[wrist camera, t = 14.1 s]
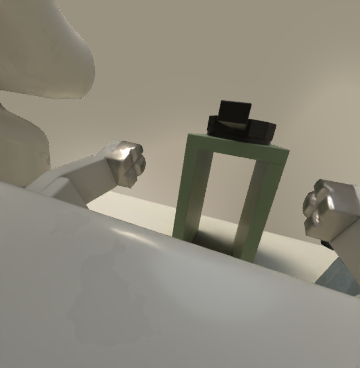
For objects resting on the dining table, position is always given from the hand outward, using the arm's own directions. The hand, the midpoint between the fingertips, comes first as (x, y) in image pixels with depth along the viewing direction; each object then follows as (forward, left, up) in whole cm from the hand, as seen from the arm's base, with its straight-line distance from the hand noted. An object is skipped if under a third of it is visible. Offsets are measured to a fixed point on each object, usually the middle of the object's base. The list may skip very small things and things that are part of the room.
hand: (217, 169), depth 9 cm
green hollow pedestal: (+18, +20, -25) cm, 37 cm away
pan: (+11, +12, +1) cm, 17 cm away
